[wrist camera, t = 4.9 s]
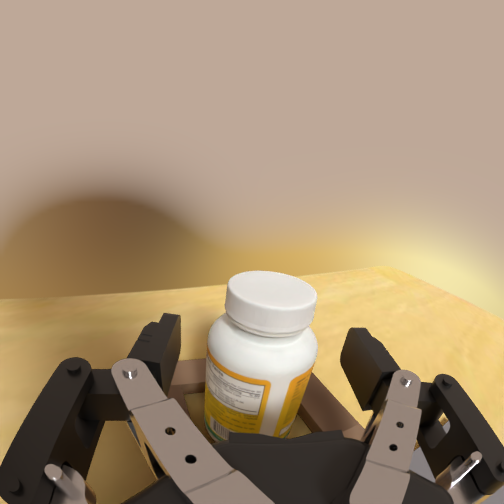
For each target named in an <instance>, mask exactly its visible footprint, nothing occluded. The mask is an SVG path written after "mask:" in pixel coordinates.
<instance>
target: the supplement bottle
mask: <svg viewBox="0 0 504 504" xmlns="http://www.w3.org/2000/svg"><path fill="white" fill-rule="evenodd" d="M316 302H317V293H316V291H315V290H314V288H313V287H312V286H310V285H309V284H308V283H306V282H304V281H302V280H300V279H298V278H296V277H293V276H290V275H287V274H283V273H276V272H269V271H248V272H243V273H240V274H237V275H234V276H233V277H232V278H230V280H229V282H228V285H227V293H226V301H225V309H226V313H224V314H223V315H221V316H220V317H219V318H218V319H217V320H216V321H215V322H214V323H213V325H212V326H211V328H210V331H209V334H208V340H207V357H206V381H205V407H204V421H205V426H206V429H207V431H208V433H209V435H210V436H211V437H212V438H213V440H214V441H215V442H218V441H223V440H228V439H229V432H236V433H259V434H264V435H269V436H274V437H279V438H285V439H286V437H287V436H288V434H289V432H290V429H291V427H292V424H293V422H294V419H295V417H296V414H297V411H298V409H299V406H300V403H301V401H302V398H303V395H304V392H305V390H306V387H307V384H308V381H309V378H310V375H311V372H312V369H313V366H314V363H315V360H316V357H317V351H318V344H317V340H316V337H315V334H314V332H313V331H312V329H311V328H310V327H309V325H310V324H311V322H312V321H313V318H314V311H315V307H316Z"/></svg>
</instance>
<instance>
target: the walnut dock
mask: <svg viewBox="0 0 504 504" xmlns="http://www.w3.org/2000/svg"><path fill="white" fill-rule="evenodd" d="M205 381H206V359H197V360H185V361H178V362H177V365H176V368H175V372H174V375H173V379H172V382H171V385H170V389H169V392H168V396H167V398H171V397H172V398H174V399H175V400H176V401H177V402H178V404H179V405H180V407H181V408H182V409H183V411H184V412H185V413H186V415H187V416H188V417H189V418H190V415H189V412H188V409H187V406H186V402H185V399H184V395H183V394H189V393H198V392H205ZM297 413H298V414H299V415H300V417H301V418H302V419H303V421H304V422H305V423H306V425H307V426H308V427H309V429H310V430H311V431H312V432H313V433H315V432H323V431H334V430H342V432H343V435H344V437H347V438H353V439H356V440H359V441H360V440H361V438H362V435H363V433H364V431H365V429H364V428H363V427H362V426H361V425H360V424H359V423H358V422H357V421H356V420H355V419H354V417H353V416H352V415H351V414H350V413H349V412H348V411H347V410H346V409H345V408H344V407H343V406H342V405H341V404H340V402H339V401H338V400H337V399H336V398H335V397H334V396H333V395H332V394H331V393H330V392H329V390H328V389H327V388H326V387H325V386H324V385H323V384H322V383H321V382H320V381H319V379H318V378H317V377H316V376H315V375H314V374H313V373H312V372H311V375H310V378H309V381H308V384H307V387H306V390H305V392H304V395H303V398H302V401H301V403H300V406H299V409H298V411H297ZM190 420H191V418H190Z"/></svg>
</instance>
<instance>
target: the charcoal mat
mask: <svg viewBox="0 0 504 504" xmlns="http://www.w3.org/2000/svg"><path fill="white" fill-rule="evenodd" d="M442 427H443V429H444V430H445V432H446V434H447V433H448V431H449V429H450V422H449V421H448V422H447V423H446V424H445V425H444V426H442ZM409 469H410V470H412V471H413V472H415V473H417V474H419V475H421V476H422V477H424V478H426V479H428V480H430V481H432V482H434V483H435V478H434V476H433V474H432V472H431V469H430V467H429V465H428V463H427V460H426V458H425V456H424V454H423V452H422V450H421V447H419V448H418V449H416V450H415V451H414V452H413V455H412V459H411V463H410V467H409ZM481 504H504V485H503V486H502V487H501V488H500V489H499V490H497V491H496V492H495V493H494V494H493V495H491V496H490V497H489V498H488V499H486V500H485V501H484V502H482V503H481Z"/></svg>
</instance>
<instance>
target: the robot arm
mask: <svg viewBox="0 0 504 504" xmlns="http://www.w3.org/2000/svg"><path fill="white" fill-rule="evenodd" d="M180 349H181V318H180V315H176V314H168V313H164V314H163V316H162V317H161V319H160V321H159V323H157V322H151V323H149V324H148V325H146V326H145V327H144V328H143V330H142V332H141V334H140V335H139V337H138V339H137V341H136V342H135V344H134V346H133V348H132V350H131V352H130V353H129V355H128V357H127V359H122V360H119V361H118V362H116V363H115V364H114V365H113V366H112V369H91V366H90V364H89V362H88V361H86V360H85V359H82V358H78V357H73V358H68V359H66V360H64V361H62V362H61V363H60V364H59V366H58V367H57V369H56V370H55V372H54V373H53V375H52V376H51V378H50V379H49V381H48V382H47V384H46V385H45V387H44V388H43V390H42V392H41V393H40V395H39V396H38V398H37V400H36V401H35V403H34V405H33V406H32V408H31V410H30V411H29V413H28V415H27V416H26V418H25V420H24V422H23V423H22V425H21V427H20V429H19V431H18V432H17V434H16V436H15V438H14V440H13V442H12V444H11V446H10V447H9V449H8V451H7V453H6V455H5V458H4V460H3V462H2V464H1V466H0V496H1V497H2V499H3V500H4V501H6V502H7V503H8V504H96V495H95V493H94V491H93V490H92V488H91V487H90V486H89V485H88V484H87V482H86V477H87V474H88V471H89V467H90V464H91V461H92V458H93V455H94V452H95V449H96V446H97V443H98V440H99V437H100V434H101V431H102V428H103V425H104V423H105V421H125V422H126V424H127V426H128V428H129V430H130V431H131V433H132V435H133V437H134V439H135V441H136V443H137V445H138V446H139V448H140V450H141V452H142V454H143V456H144V458H145V460H146V462H147V464H148V466H149V468H150V469H151V471H152V473H153V474H154V476H155V477H156V479H157V481H155V482H154V483H153V484H151V485H150V486H148V487H147V488H145V489H144V490H142V491H141V492H139V493H137V494H136V495H134V496H133V497H131V498H129V499H128V500H126V501H125V502H123V503H121V504H481V503H482V502H484V501H485V500H486V499H488V498H489V497H490V496H491V495H493V494H494V493H495V492H496V491H497V490H499V489H500V488H501V487H502V486H503V485H504V447H503V445H502V444H501V442H500V440H499V439H498V437H497V436H496V434H495V433H494V431H493V430H492V428H491V427H490V425H489V424H488V423H487V421H486V420H485V418H484V417H483V415H482V414H481V413H480V411H479V410H478V408H477V407H476V406H475V404H474V403H473V402H472V400H471V399H470V398H469V396H468V395H467V394H466V392H465V391H464V390H463V388H462V387H461V386H460V384H459V383H458V382H457V381H456V380H455V379H454V378H453V377H451V376H449V375H446V374H439V375H437V376H436V377H435V379H434V381H433V383H427V382H421V381H420V379H419V377H418V376H417V375H416V374H414V373H413V372H411V371H407V370H401V369H400V367H399V366H398V365H397V363H396V362H395V361H394V359H393V358H392V356H391V355H390V354H389V352H388V351H387V350H386V348H385V347H384V346H383V344H382V343H381V342H380V341H378V340H377V339H376V338H374V337H372V336H371V334H370V333H369V332H368V330H367V329H366V328H350V329H349V331H348V334H347V337H346V340H345V343H344V346H343V349H342V352H341V356H340V363H341V366H342V368H343V370H344V372H345V374H346V377H347V379H348V381H349V383H350V385H351V387H352V389H353V391H354V394H355V396H356V398H357V400H358V402H359V404H360V406H361V409H362V411H366V410H373V413H372V415H371V417H370V419H369V422H368V424H367V426H366V429H365V431H364V433H363V435H362V438H361V440H360V441H359V440H356V439H353V438H347V437H344V435H343V432H342V430H334V431H323V432H315V433H311V434H308V435H304V436H300V437H296V438H292V439H285V438H279V437H274V436H269V435H264V434H259V433H236V432H229V439H228V440H223V441H218V442H215V443H212V444H210V443H209V442H208V441H207V440H206V438H205V437H204V436H203V435H202V434H201V432H200V431H199V430H198V429H197V427H196V426H195V425H194V424H193V422H192V421H191V420H190V418H189V417H188V416H187V415H186V413H185V412H184V411H183V409H182V408H181V407H180V405H179V404H178V402H177V401H176V400H175V399H174V398H172V397H171V398H167V396H168V392H169V389H170V385H171V382H172V379H173V375H174V372H175V368H176V365H177V362H178V358H179V355H180ZM443 412H444V414H445V415H446V417H447V419H448V420H449V422H450V429H449V431H448V433H447V434H446V432H445V430H444V429H443V427H442V425H441V424H440V422H439V420H438V419H439V418H440V416H441V415H442V414H443ZM416 439H417V441H418V443H419V445H420V447H421V450H422V452H423V454H424V456H425V458H426V460H427V463H428V465H429V467H430V469H431V472H432V474H433V476H434V478H435V483H434V482H432V481H430V480H428V479H426V478H424V477H422V476H421V475H419V474H417V473H415V472H413V471H412V470H410V469H409V467H410V463H411V459H412V455H413V451H414V447H415V443H416Z"/></svg>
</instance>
